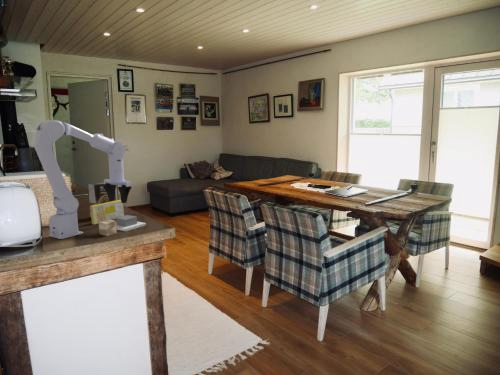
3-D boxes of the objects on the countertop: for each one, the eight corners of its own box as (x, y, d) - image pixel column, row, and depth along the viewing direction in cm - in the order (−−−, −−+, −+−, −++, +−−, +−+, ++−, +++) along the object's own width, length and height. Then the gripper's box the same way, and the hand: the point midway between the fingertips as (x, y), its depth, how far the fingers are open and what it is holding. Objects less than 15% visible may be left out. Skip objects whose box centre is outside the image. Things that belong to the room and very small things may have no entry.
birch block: (107, 236, 138) (106, 223, 137) (99, 234, 140) (98, 221, 139) (116, 233, 142) (115, 221, 141) (109, 231, 144) (108, 219, 143)
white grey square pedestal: (125, 231, 144) (124, 221, 143) (107, 227, 149) (107, 218, 149) (146, 225, 153) (145, 216, 152) (128, 221, 159) (128, 213, 158)
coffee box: (97, 219, 163) (95, 184, 160) (89, 217, 167) (87, 183, 164) (115, 215, 170) (113, 182, 168) (107, 213, 174) (105, 181, 171)
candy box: (121, 216, 169) (120, 199, 168) (124, 217, 168) (123, 199, 167) (91, 224, 156) (89, 205, 154) (94, 224, 154) (92, 206, 153)
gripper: (135, 170, 150) (137, 202, 152) (112, 168, 158) (114, 198, 160) (122, 171, 144) (123, 204, 146) (99, 169, 151) (100, 201, 154)
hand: (118, 201), depth 153 cm, fingers open, 7 cm apart
